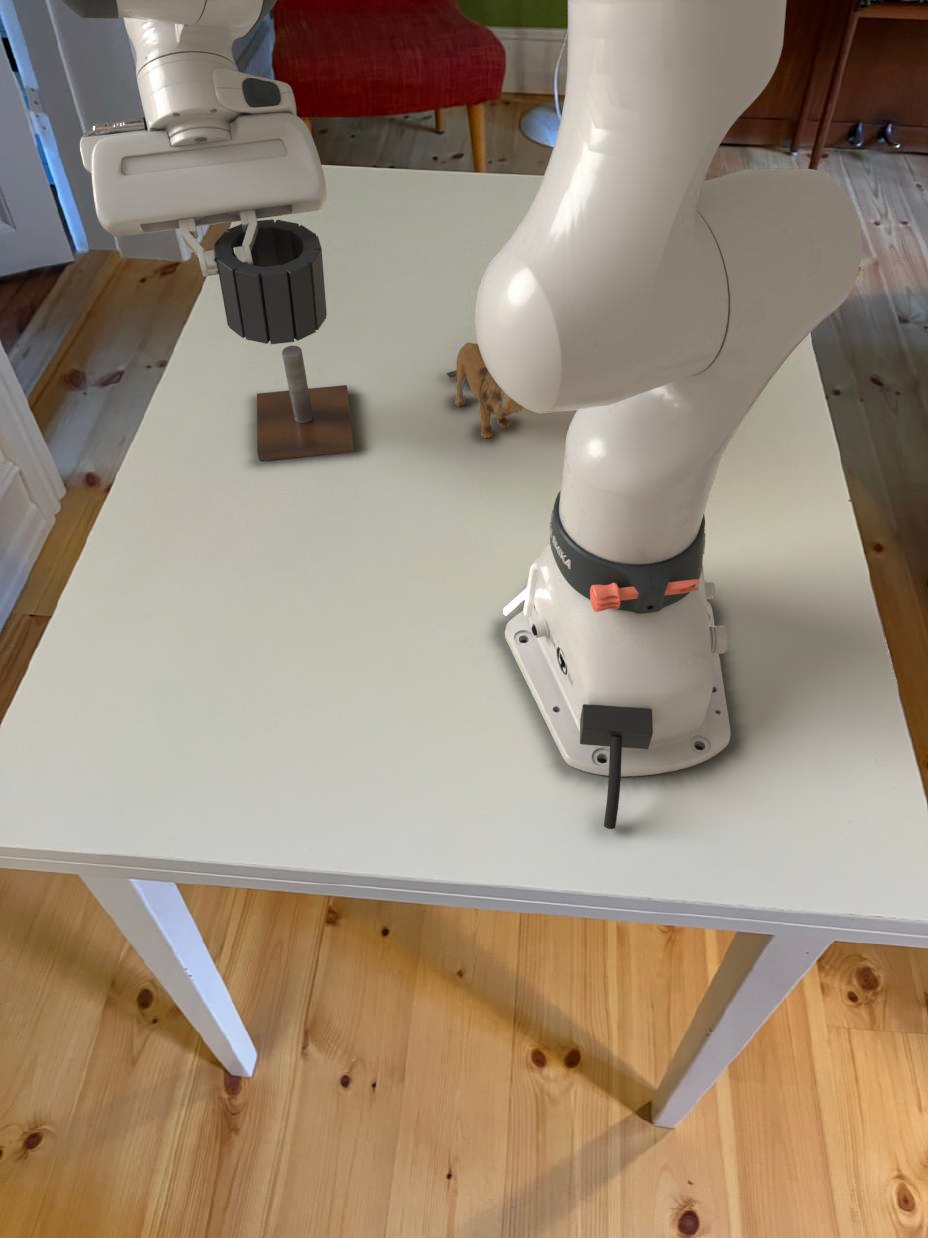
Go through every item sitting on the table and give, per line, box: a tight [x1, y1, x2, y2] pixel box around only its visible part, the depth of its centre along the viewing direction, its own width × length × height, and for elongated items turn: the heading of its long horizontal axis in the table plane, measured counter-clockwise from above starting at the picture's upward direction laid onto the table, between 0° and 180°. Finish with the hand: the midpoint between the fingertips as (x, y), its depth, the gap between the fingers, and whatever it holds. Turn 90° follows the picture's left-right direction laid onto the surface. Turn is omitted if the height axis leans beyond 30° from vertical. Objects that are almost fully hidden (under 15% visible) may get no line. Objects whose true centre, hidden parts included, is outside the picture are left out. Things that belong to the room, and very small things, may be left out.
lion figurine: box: [446, 341, 525, 439], centre depth 99 cm, size 15×5×9 cm, turn 34°
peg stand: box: [256, 345, 355, 462], centre depth 97 cm, size 10×10×10 cm
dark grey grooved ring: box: [213, 219, 328, 345], centre depth 87 cm, size 9×9×7 cm
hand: (228, 271), depth 84 cm, fingers closed on dark grey grooved ring
